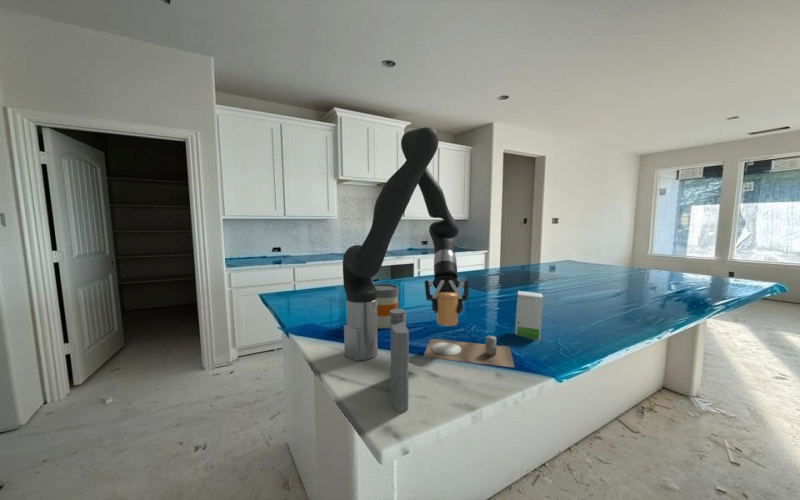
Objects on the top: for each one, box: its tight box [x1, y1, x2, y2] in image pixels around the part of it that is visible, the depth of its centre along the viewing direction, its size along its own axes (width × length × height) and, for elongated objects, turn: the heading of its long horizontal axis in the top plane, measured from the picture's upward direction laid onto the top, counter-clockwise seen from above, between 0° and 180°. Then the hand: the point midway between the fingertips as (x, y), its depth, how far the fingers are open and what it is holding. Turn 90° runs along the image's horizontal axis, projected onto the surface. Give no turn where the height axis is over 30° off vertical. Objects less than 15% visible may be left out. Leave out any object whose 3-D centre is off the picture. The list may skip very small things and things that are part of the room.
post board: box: [422, 335, 515, 368], centre depth 91 cm, size 25×14×6 cm, turn 75°
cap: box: [435, 291, 459, 327], centre depth 92 cm, size 6×6×9 cm
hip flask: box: [390, 308, 410, 413], centre depth 72 cm, size 16×4×20 cm, turn 2°
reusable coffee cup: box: [373, 283, 400, 329], centre depth 119 cm, size 13×13×15 cm
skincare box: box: [514, 290, 544, 342], centre depth 106 cm, size 8×7×16 cm
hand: (447, 311), depth 90 cm, fingers closed on cap, 6 cm apart
